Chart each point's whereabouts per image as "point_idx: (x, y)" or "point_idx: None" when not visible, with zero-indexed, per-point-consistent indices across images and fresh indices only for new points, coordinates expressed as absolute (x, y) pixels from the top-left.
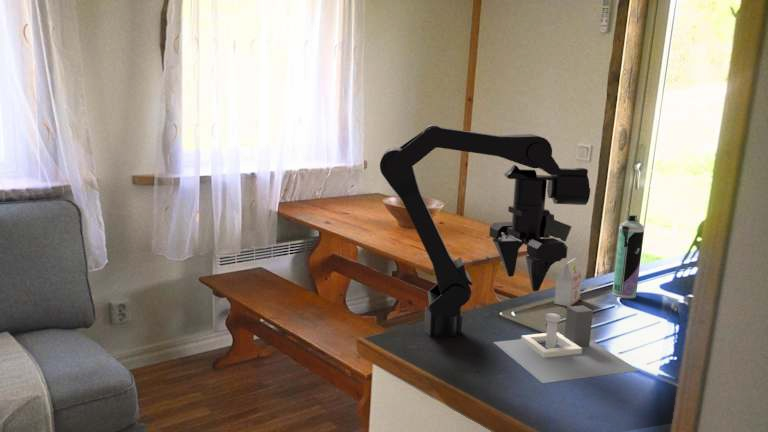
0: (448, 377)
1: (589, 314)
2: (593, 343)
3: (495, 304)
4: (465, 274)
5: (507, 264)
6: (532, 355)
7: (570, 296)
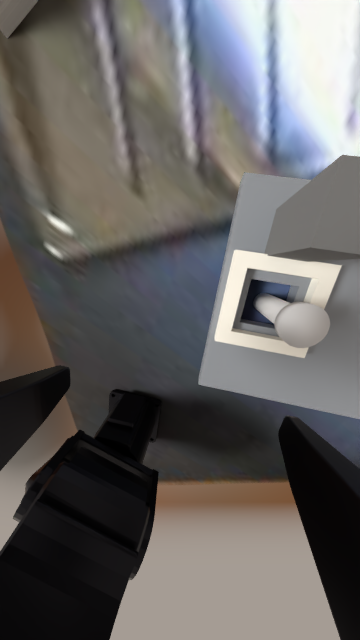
0: (245, 472)
1: None
2: None
3: (4, 226)
4: (112, 622)
5: (10, 445)
6: (279, 364)
7: None
